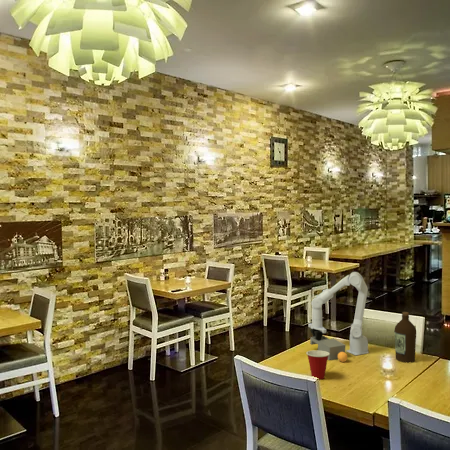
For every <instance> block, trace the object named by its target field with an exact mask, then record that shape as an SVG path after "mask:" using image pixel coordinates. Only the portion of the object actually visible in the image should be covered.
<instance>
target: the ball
mask: <svg viewBox="0 0 450 450" xmlns="http://www.w3.org/2000/svg"><path fill="white" fill-rule="evenodd" d="M337 360H338V361H339V362H343V363H344V362H346V361H347V360H348V354H347V353H346V351H345V352H340V353H339V354H338V359H337Z"/></svg>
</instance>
